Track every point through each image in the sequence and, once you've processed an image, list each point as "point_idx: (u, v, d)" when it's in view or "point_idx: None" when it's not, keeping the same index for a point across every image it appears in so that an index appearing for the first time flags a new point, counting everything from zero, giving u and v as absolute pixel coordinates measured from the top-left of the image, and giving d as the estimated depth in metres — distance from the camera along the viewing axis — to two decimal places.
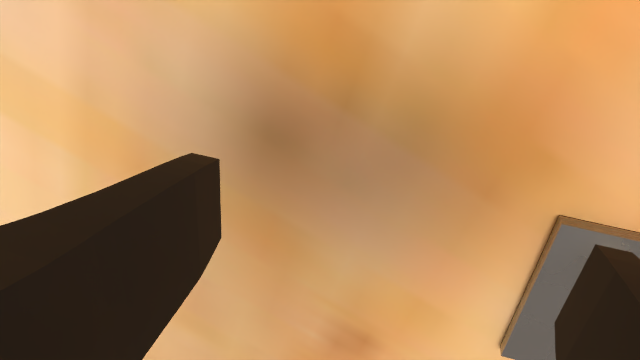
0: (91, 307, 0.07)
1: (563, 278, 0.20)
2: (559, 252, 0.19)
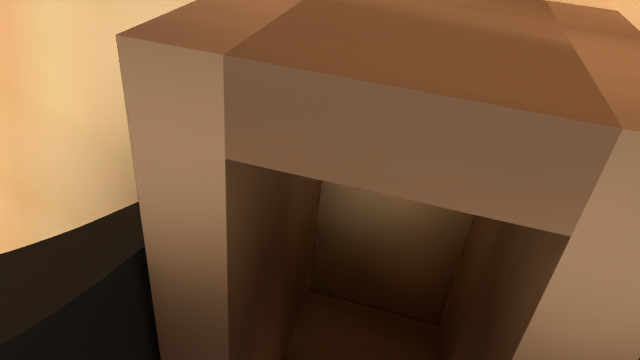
0: (137, 321, 0.07)
1: None
2: None
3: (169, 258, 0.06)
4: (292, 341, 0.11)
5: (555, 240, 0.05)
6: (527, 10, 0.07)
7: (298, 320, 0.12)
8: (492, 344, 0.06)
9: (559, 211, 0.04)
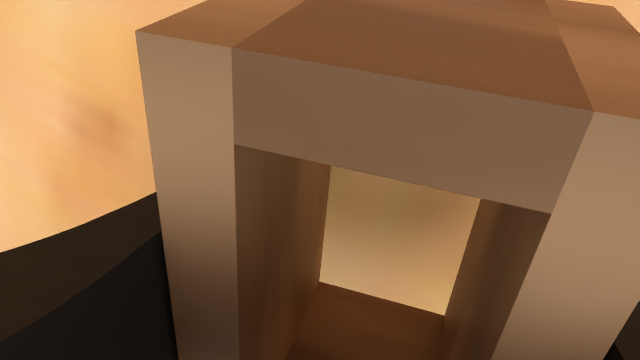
0: (135, 320, 0.07)
1: None
2: None
3: (183, 238, 0.06)
4: (302, 328, 0.12)
5: (539, 219, 0.05)
6: (523, 6, 0.08)
7: (308, 309, 0.12)
8: (487, 323, 0.07)
9: (540, 190, 0.05)
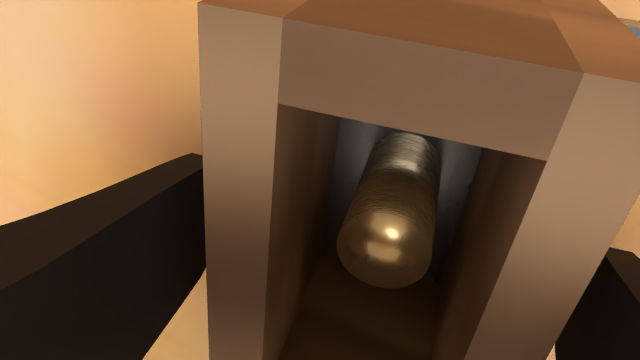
0: (91, 307, 0.07)
1: None
2: None
3: (223, 191, 0.07)
4: (308, 293, 0.13)
5: (536, 168, 0.06)
6: None
7: (313, 276, 0.13)
8: (486, 268, 0.08)
9: (538, 140, 0.06)
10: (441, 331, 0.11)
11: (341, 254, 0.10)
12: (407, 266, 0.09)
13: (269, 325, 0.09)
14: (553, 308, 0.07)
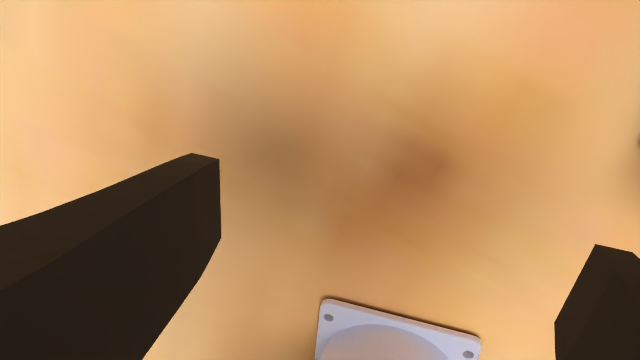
0: (91, 307, 0.07)
1: None
2: None
3: None
4: None
5: None
6: None
7: None
8: None
9: None
10: None
11: None
12: None
13: None
14: None
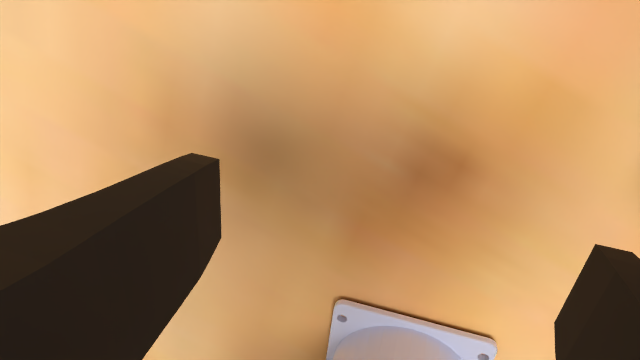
0: (91, 307, 0.07)
1: None
2: None
3: None
4: None
5: None
6: None
7: None
8: None
9: None
10: None
11: None
12: None
13: None
14: None
